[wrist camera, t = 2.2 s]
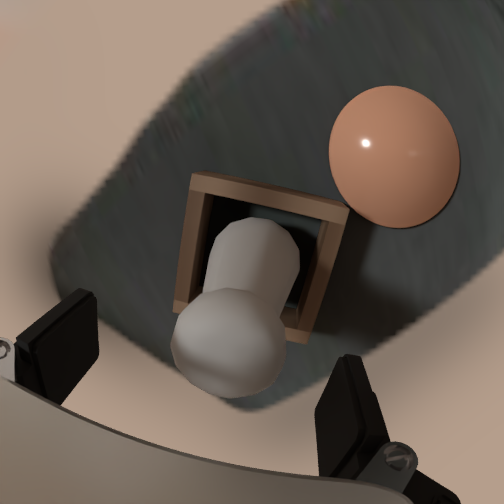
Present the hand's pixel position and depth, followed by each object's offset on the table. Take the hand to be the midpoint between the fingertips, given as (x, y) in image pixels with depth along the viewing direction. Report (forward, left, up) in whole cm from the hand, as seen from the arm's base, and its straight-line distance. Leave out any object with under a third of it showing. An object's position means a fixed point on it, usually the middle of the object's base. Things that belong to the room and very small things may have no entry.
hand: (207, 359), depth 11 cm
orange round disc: (-9, -9, -12) cm, 18 cm away
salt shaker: (-1, 0, -13) cm, 13 cm away
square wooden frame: (-1, 0, -12) cm, 12 cm away
